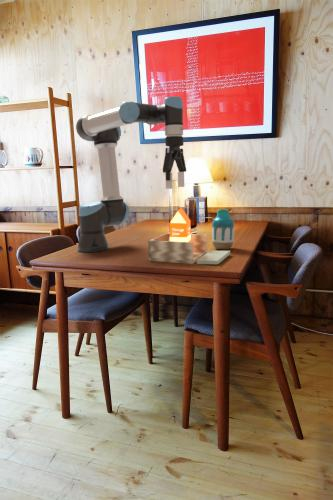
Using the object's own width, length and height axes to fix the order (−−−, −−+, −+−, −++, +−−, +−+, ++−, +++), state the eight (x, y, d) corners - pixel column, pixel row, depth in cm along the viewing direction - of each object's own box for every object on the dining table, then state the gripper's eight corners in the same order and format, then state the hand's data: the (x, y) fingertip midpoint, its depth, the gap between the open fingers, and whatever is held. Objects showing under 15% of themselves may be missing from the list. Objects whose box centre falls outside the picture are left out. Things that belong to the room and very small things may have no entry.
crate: (148, 261, 166) (148, 240, 164) (167, 251, 184) (166, 232, 182) (192, 264, 158) (192, 243, 156) (207, 254, 176) (207, 234, 174)
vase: (208, 248, 188) (207, 209, 184) (227, 246, 192) (227, 208, 188) (218, 252, 179) (218, 211, 175) (238, 250, 182) (238, 210, 178)
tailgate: (196, 260, 158) (217, 260, 154) (210, 250, 175) (230, 250, 171) (196, 263, 158) (218, 264, 154) (210, 253, 175) (230, 254, 171)
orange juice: (169, 256, 167) (168, 210, 163) (174, 251, 176) (173, 208, 171) (187, 256, 165) (186, 210, 161) (191, 252, 174) (190, 208, 170)
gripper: (170, 133, 148) (172, 189, 152) (192, 137, 170) (193, 186, 175) (153, 134, 151) (155, 189, 155) (177, 138, 173) (178, 186, 178)
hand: (175, 187), depth 165 cm, fingers open, 13 cm apart
